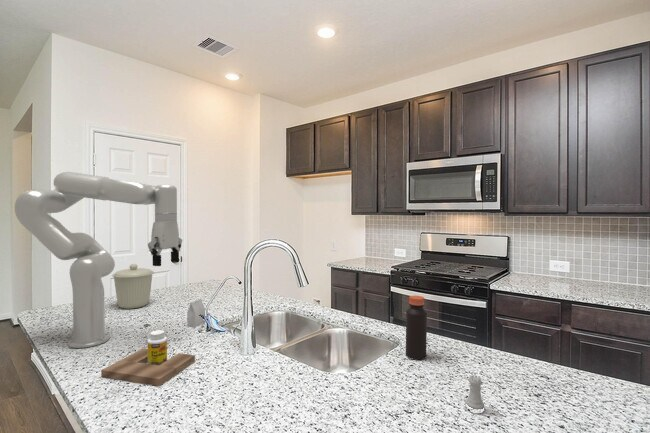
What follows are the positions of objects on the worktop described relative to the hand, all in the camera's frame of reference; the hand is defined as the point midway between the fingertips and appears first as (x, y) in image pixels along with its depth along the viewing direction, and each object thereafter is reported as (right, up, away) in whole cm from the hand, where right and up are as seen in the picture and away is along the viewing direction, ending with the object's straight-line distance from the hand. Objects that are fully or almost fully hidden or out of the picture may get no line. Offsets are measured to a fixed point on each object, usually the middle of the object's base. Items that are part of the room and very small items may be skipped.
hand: (166, 263), depth 130 cm
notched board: (+6, -29, -24) cm, 38 cm away
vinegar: (+90, -30, -13) cm, 96 cm away
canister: (-36, -27, +43) cm, 62 cm away
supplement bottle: (+7, -29, -20) cm, 36 cm away
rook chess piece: (+97, -30, -44) cm, 110 cm away
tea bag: (+5, -28, +17) cm, 33 cm away
